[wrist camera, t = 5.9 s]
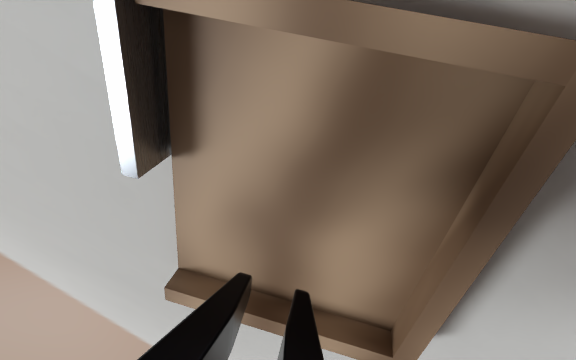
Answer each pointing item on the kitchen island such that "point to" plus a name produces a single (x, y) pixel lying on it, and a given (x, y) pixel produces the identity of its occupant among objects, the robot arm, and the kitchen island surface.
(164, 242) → the kitchen island surface
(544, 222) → the kitchen island surface
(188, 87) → the brown wooden tray
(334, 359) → the kitchen island surface
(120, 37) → the gray metal bar
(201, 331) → the robot arm
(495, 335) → the kitchen island surface
